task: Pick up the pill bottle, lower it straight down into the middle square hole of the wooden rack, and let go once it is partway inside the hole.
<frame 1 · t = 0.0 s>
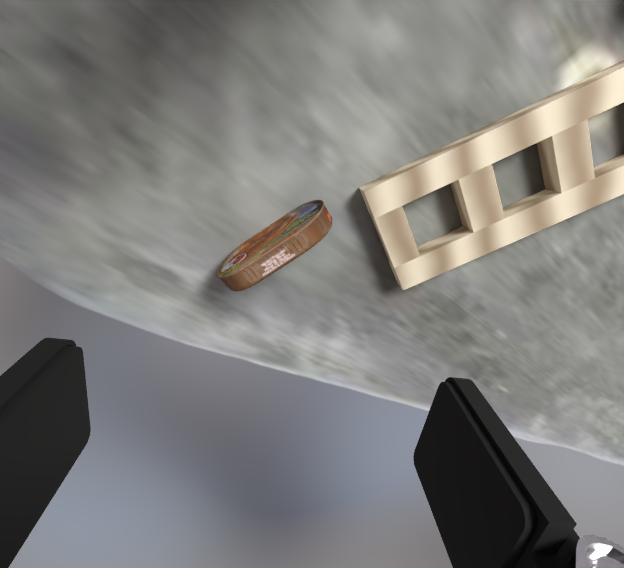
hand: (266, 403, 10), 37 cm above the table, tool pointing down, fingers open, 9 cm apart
tin: (275, 235, 46), on the table
wooden rack: (512, 175, 45), on the table
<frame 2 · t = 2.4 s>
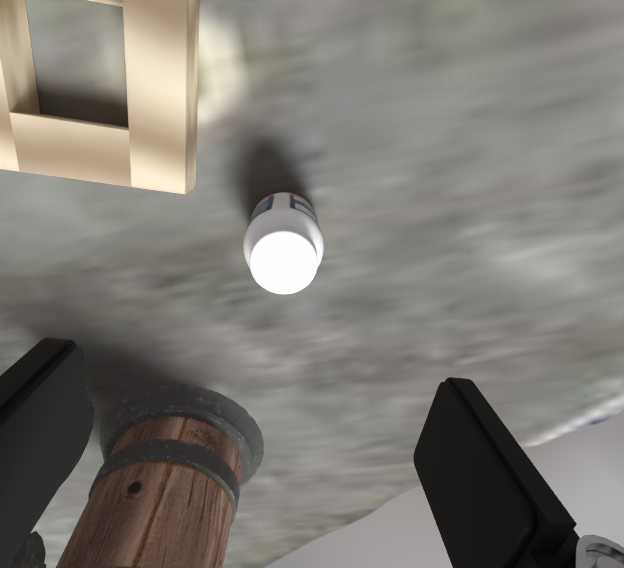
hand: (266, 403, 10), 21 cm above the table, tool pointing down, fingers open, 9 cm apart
pill bottle: (284, 224, 29), on the table
tankard: (161, 428, 37), on the table
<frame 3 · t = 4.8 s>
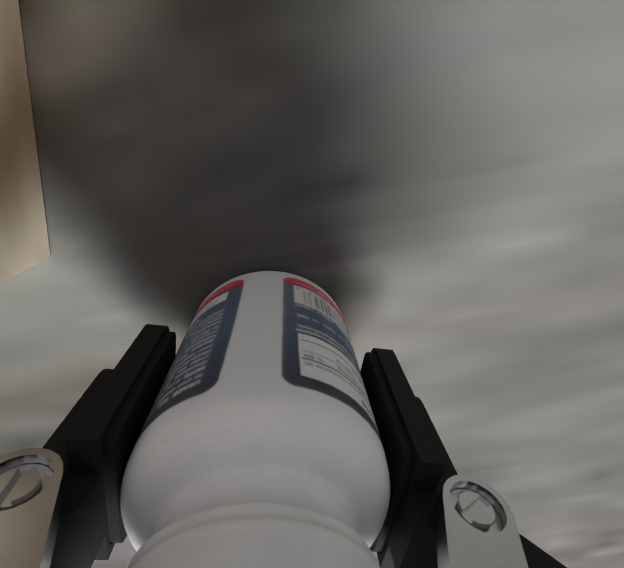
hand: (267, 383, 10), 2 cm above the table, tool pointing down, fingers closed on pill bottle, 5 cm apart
pill bottle: (271, 333, 13), on the table, touching gripper
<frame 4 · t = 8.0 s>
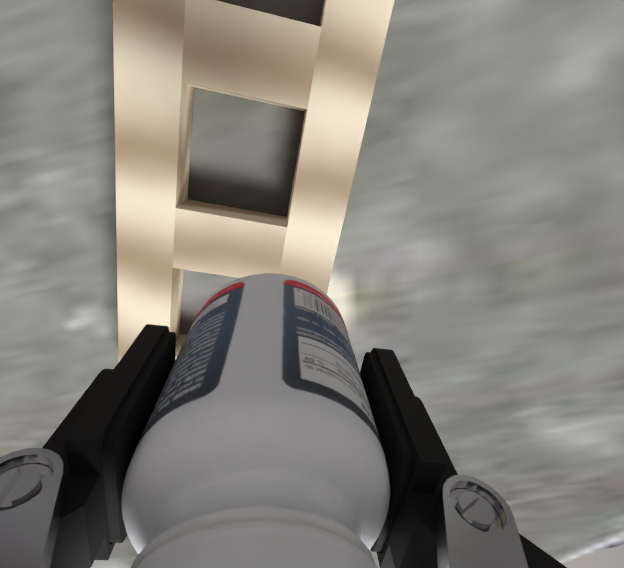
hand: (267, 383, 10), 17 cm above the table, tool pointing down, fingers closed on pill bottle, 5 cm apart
pill bottle: (271, 335, 13), point 15 cm above the table, touching gripper
wooden rack: (244, 156, 24), on the table
when the fingers open (4 cm above the table, at t = 11.0 s): pill bottle drops 1 cm, resting in wooden rack.
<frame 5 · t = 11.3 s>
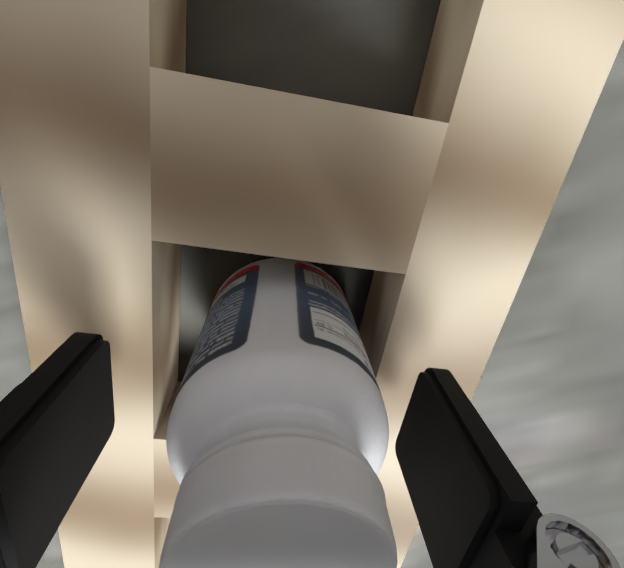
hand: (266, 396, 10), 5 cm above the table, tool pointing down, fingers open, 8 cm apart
pill bottle: (282, 315, 14), resting in wooden rack
wooden rack: (272, 316, 14), on the table
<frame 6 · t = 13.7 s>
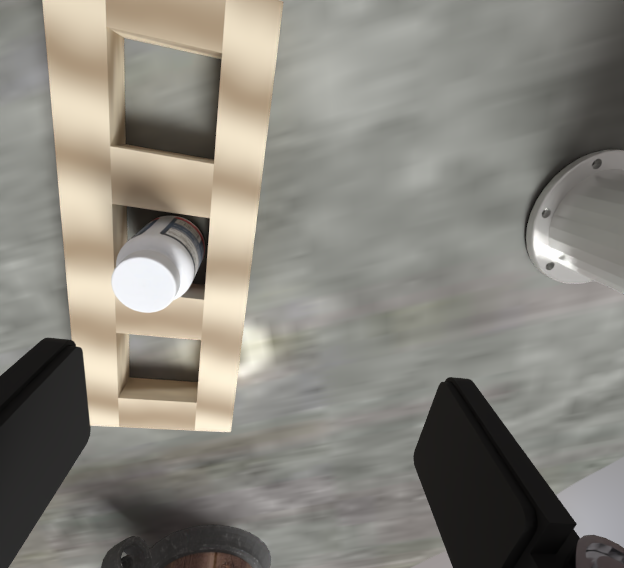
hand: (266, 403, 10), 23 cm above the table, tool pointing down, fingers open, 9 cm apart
pill bottle: (175, 243, 31), resting in wooden rack
tankard: (192, 553, 48), on the table
wooden rack: (170, 243, 31), on the table
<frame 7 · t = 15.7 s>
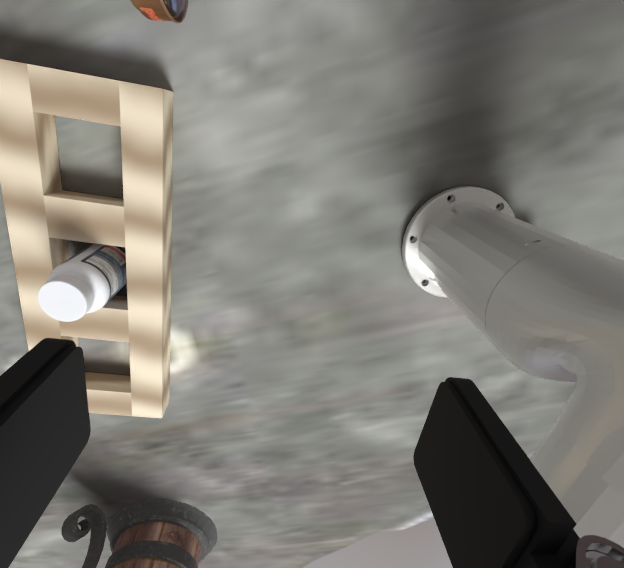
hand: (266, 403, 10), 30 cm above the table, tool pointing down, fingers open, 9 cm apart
pill bottle: (108, 265, 39), resting in wooden rack
tankard: (148, 523, 56), on the table
wooden rack: (104, 265, 39), on the table
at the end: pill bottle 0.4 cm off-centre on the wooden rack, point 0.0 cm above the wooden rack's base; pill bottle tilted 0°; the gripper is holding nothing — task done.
